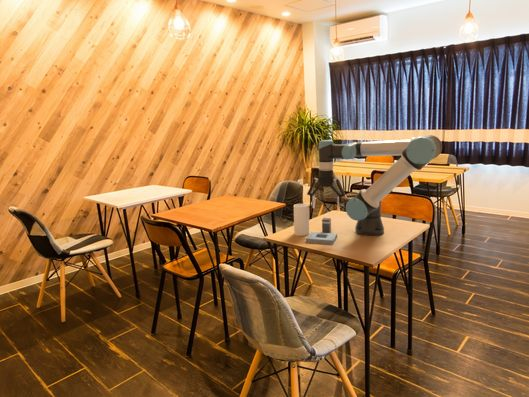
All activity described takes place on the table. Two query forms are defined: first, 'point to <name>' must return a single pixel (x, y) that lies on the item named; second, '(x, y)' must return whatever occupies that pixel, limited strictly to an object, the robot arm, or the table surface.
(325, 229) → the charger
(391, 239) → the table surface
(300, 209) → the cup
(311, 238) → the outlet plate
